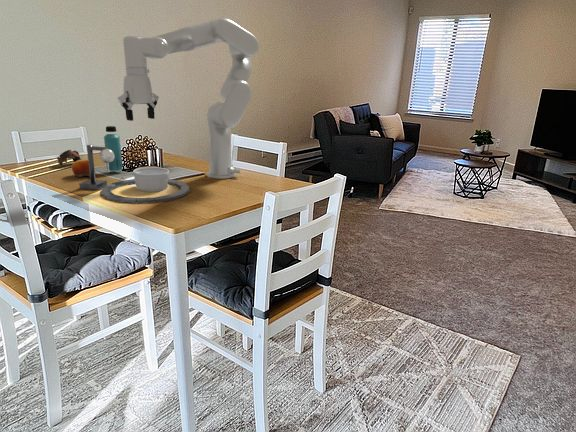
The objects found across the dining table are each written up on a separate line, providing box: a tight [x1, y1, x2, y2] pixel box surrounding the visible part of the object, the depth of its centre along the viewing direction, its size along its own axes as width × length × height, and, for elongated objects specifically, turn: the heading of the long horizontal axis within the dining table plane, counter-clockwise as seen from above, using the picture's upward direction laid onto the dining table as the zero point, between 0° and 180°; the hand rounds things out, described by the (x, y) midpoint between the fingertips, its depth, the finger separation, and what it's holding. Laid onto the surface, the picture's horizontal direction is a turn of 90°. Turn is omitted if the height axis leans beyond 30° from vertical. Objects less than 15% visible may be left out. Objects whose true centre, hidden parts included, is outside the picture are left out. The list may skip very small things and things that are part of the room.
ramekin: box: [132, 166, 170, 192], centre depth 160 cm, size 13×13×7 cm
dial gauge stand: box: [78, 144, 115, 191], centre depth 155 cm, size 12×7×16 cm, turn 84°
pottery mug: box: [56, 149, 82, 166], centre depth 190 cm, size 12×10×8 cm
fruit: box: [71, 159, 90, 178], centre depth 172 cm, size 8×8×8 cm
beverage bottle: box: [103, 125, 123, 172], centre depth 178 cm, size 6×7×20 cm
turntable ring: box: [100, 178, 190, 204], centre depth 156 cm, size 31×31×1 cm
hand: (140, 119), depth 160 cm, fingers open, 9 cm apart
